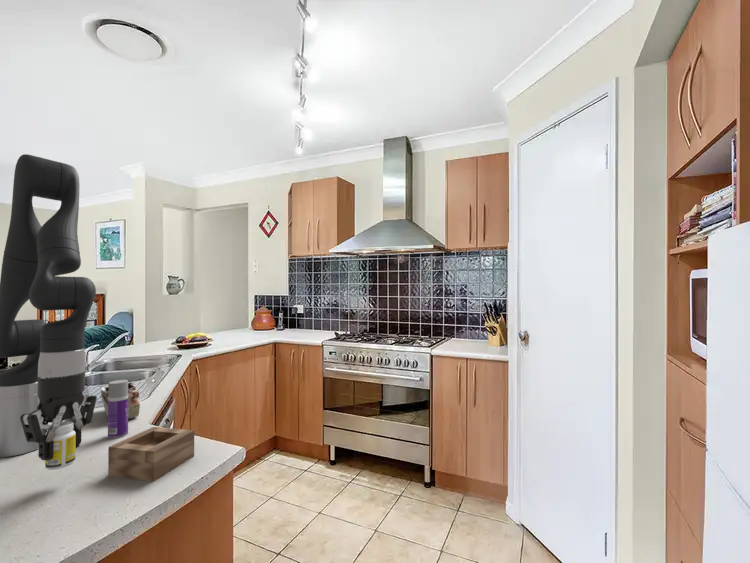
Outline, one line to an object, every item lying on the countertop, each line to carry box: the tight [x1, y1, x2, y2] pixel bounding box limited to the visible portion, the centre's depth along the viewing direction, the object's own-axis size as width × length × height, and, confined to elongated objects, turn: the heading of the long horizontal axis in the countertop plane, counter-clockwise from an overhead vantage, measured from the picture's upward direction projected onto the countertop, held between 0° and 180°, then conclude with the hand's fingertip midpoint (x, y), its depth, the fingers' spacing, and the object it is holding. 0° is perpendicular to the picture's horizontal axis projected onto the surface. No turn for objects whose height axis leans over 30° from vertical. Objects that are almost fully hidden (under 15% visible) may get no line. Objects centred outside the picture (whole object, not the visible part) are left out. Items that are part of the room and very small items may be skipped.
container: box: [107, 379, 129, 440], centre depth 102 cm, size 5×5×15 cm
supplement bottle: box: [44, 420, 77, 471], centre depth 75 cm, size 5×5×8 cm
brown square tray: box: [107, 426, 195, 482], centre depth 84 cm, size 12×12×6 cm
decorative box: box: [100, 381, 141, 420], centre depth 118 cm, size 13×20×10 cm, turn 36°
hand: (60, 453), depth 75 cm, fingers closed on supplement bottle, 4 cm apart
